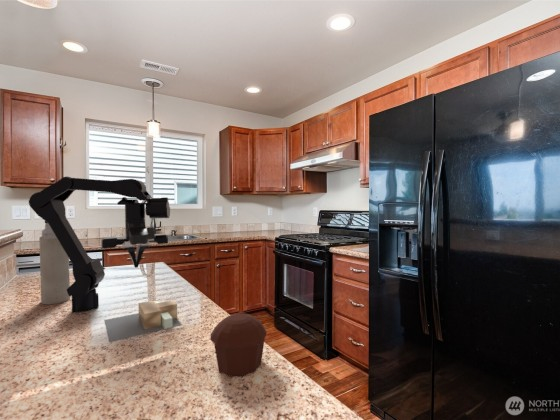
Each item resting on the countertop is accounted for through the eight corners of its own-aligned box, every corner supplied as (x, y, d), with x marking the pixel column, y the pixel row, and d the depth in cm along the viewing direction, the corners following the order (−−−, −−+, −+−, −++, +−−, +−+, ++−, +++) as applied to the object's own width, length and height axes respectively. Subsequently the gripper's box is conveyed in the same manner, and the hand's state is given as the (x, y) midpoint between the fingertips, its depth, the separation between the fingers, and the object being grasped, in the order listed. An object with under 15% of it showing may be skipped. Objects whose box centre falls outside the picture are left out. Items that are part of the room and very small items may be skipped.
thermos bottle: (59, 295, 107) (57, 219, 106) (75, 298, 104) (73, 219, 104) (35, 302, 99) (33, 220, 99) (51, 305, 97) (49, 220, 96)
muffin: (241, 345, 69) (241, 303, 69) (277, 361, 62) (277, 314, 62) (198, 367, 60) (198, 319, 60) (235, 389, 53) (235, 334, 53)
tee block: (144, 329, 76) (144, 314, 76) (138, 316, 85) (138, 303, 85) (180, 321, 81) (179, 306, 81) (171, 310, 90) (170, 297, 90)
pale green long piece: (164, 329, 76) (164, 319, 76) (152, 310, 90) (151, 302, 90) (172, 327, 78) (172, 317, 77) (158, 309, 91) (158, 301, 91)
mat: (109, 345, 69) (109, 342, 69) (104, 322, 83) (104, 320, 83) (182, 327, 79) (182, 324, 79) (167, 309, 92) (167, 307, 92)
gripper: (102, 221, 82) (104, 276, 82) (172, 218, 92) (172, 268, 93) (100, 219, 91) (101, 269, 91) (163, 217, 102) (164, 262, 102)
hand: (136, 267), depth 94 cm, fingers closed
